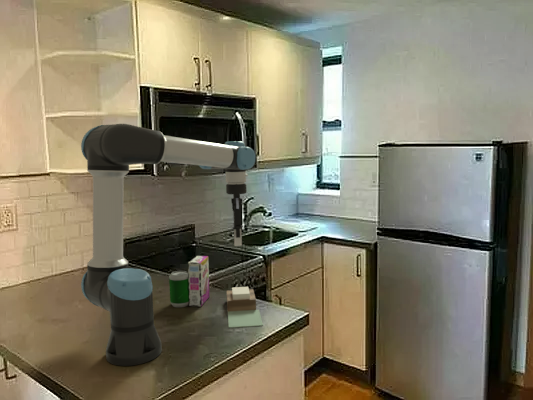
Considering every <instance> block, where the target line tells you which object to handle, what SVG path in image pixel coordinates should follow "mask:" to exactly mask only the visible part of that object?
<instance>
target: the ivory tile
mask: <svg viewBox="0 0 533 400" xmlns="http://www.w3.org/2000/svg"><path fill="white" fill-rule="evenodd" d="M249 289H250V288H249V286H237V287H236V286H235V287H231V290H232V296H233V300H242V299H250V292H249Z"/></svg>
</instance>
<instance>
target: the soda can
mask: <svg viewBox="0 0 533 400" xmlns="http://www.w3.org/2000/svg"><path fill="white" fill-rule="evenodd" d="M168 279H169V280H168V284H169V300H170V301H169V302H170V304H171V305H172V307H174V308H184V307H188V306H189V278H188V271H185V270H177V271H176V270H175V271H172V272H171V274H170V275H168Z"/></svg>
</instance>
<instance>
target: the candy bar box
mask: <svg viewBox="0 0 533 400" xmlns="http://www.w3.org/2000/svg"><path fill="white" fill-rule="evenodd" d="M209 260H210V259H209V256H208V255H196V256H195V257H193V258H192V259H191V260H190V261H188V262H187V267H188V268H187V273H188V278H189V305H188V306H189V307H197V308H198V307H203V305H204V304H205V303H206V302H207V300H208V299H209V298H210V268H209V267H210V265H209V262H210V261H209Z"/></svg>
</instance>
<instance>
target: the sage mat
mask: <svg viewBox="0 0 533 400" xmlns="http://www.w3.org/2000/svg"><path fill="white" fill-rule="evenodd" d="M227 321H228V324H227V325H228V329H234V328H235V329H236V328H249V327H250V328H251V327H263V326H264V323H263V321H262V316H261V312H260V309H256V310H245V311H228V310H227Z"/></svg>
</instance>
